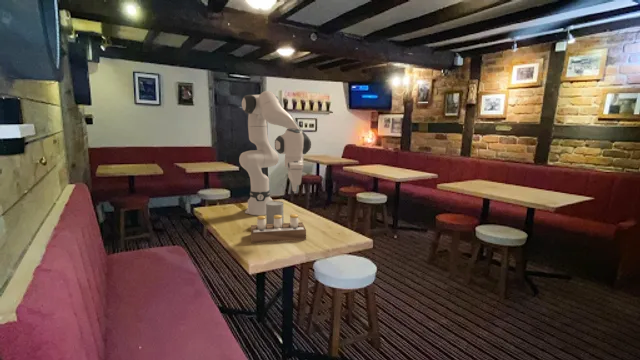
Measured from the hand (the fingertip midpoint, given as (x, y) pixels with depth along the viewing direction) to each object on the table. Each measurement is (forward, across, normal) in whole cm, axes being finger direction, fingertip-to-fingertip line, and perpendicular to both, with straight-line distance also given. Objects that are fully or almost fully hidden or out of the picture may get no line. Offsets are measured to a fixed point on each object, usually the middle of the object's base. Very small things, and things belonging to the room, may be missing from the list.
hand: (294, 190), depth 163 cm
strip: (+18, +4, -8) cm, 20 cm away
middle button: (+20, 0, -8) cm, 22 cm away
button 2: (+20, 0, 0) cm, 20 cm away
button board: (+23, 0, -8) cm, 24 cm away
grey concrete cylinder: (+23, -20, -8) cm, 32 cm away
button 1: (+20, 0, -16) cm, 26 cm away
